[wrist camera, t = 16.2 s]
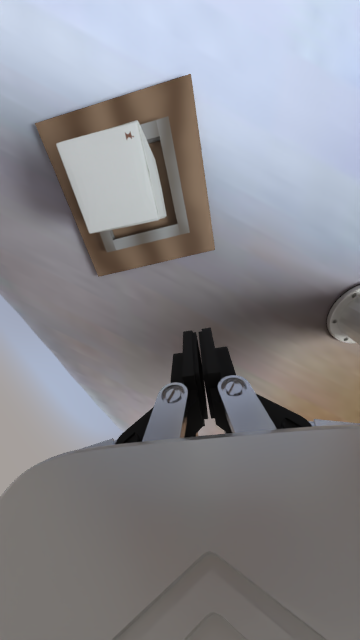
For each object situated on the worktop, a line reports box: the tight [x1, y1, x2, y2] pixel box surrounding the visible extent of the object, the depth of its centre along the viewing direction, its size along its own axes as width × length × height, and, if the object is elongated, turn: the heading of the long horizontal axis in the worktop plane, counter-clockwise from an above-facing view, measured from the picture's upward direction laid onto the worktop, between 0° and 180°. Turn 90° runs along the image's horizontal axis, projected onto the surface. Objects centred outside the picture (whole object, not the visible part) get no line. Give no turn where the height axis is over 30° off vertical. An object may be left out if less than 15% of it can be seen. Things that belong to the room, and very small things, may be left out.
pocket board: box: [35, 74, 215, 277], centre depth 29 cm, size 20×20×3 cm
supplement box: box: [56, 120, 167, 234], centre depth 23 cm, size 7×7×13 cm
